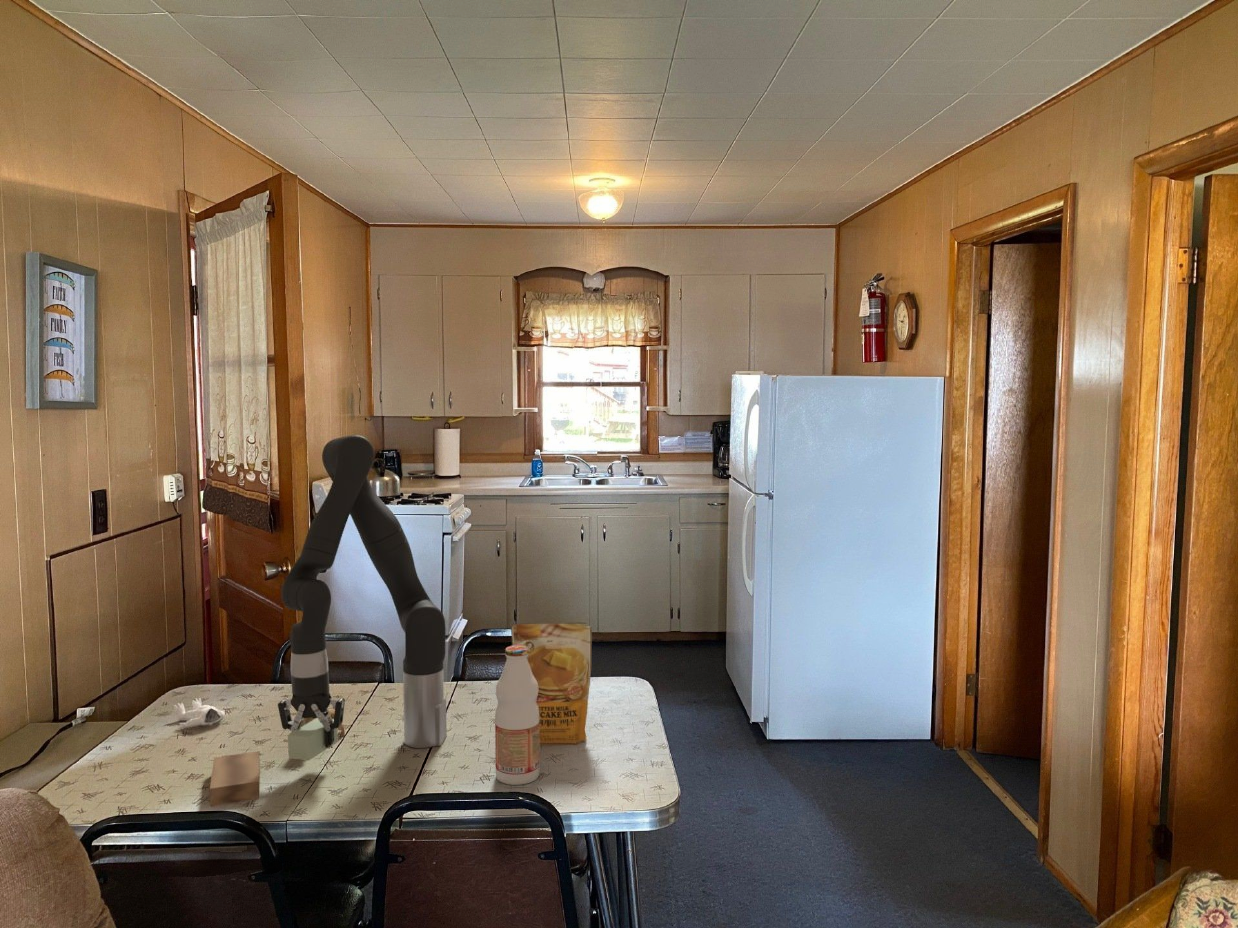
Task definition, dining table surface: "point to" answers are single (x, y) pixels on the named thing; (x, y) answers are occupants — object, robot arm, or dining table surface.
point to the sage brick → (308, 740)
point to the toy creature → (197, 714)
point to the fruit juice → (517, 720)
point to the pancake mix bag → (559, 677)
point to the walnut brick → (235, 778)
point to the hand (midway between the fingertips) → (313, 746)
